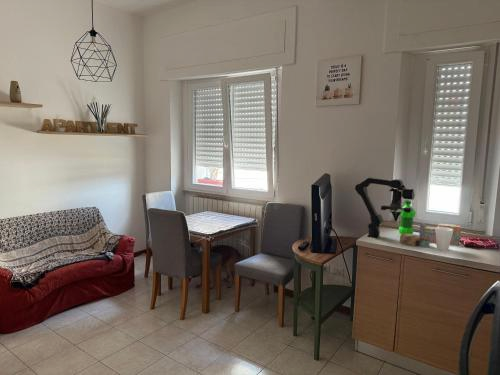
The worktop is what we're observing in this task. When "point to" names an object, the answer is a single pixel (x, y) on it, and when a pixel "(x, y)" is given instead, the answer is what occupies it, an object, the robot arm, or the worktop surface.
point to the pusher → (422, 230)
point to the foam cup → (443, 238)
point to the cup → (424, 243)
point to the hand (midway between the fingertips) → (395, 221)
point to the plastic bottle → (406, 220)
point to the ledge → (410, 239)
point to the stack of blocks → (455, 238)
